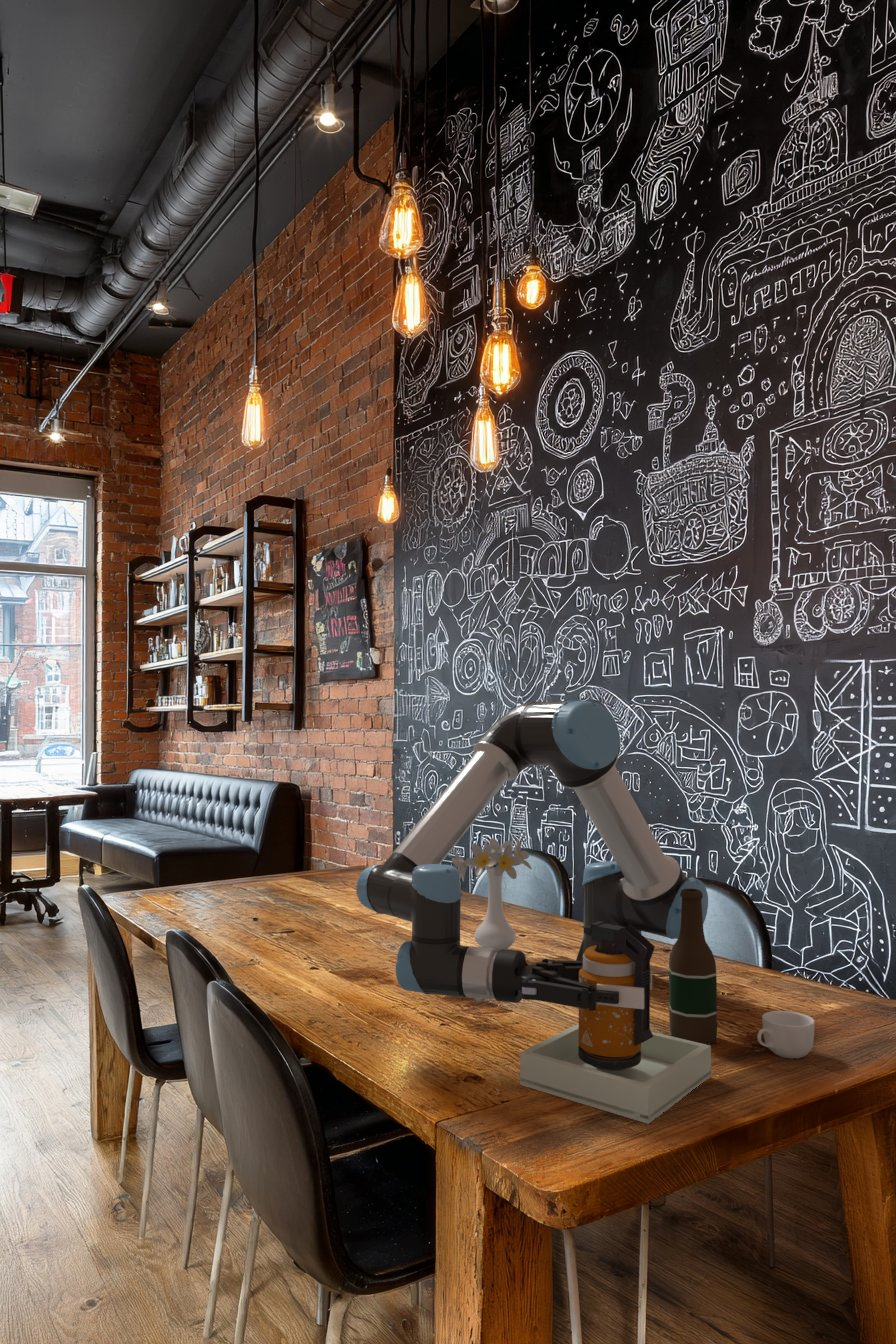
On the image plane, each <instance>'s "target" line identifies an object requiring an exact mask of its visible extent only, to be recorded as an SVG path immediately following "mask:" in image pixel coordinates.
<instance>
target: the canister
mask: <svg viewBox="0 0 896 1344" xmlns="http://www.w3.org/2000/svg"><path fill="white" fill-rule="evenodd" d="M584 932H585V933H586V934H588V935H589V934H592V940H594V941H599V943H597V945H596V946H591V947H589V948H587V949H586V950H585V952H584V954H583V968H581V969H580V970H579V982H581V983H585V984H589V985H593V986H595V989H597V983H598V984H607V985H618V986H629V987H639V988H644V1009H635V1008H625V1007H616V1006H606V1005H597V1002H595V1007H596V1010H595V1011H589V1008H587V1009H583V1008H578V1024H579V1033H578V1044H579V1046H578V1056H579V1058H580V1059H581V1060H582V1061H583V1062H585V1063H587V1064H589V1065H592V1066H593V1067H596V1068H598V1069H603V1070H610V1071H618V1070H624V1069H627V1068H631V1067H634V1066H636V1065H638V1064H639V1063H640V1062H641V1043H643V1042H645V1041H647V1040H648V1039H650V1038H652V1037H653V1035H652V1033H651V1032H652V1031H651V1029H650V1028H651V1027H650V1024H651V1019H650V1017H651V1016H650V1015H651V1014H650V1013H651V1010H650V1009H651V1006H650V1005H651V1002H650V1001H651V1000H650V999H651V994H650V993H651V990H650V982H651V981H650V980H651V978H650V977H651V975H650V974H651V972H650V971H651V959H652V957H653V955H654V954H653V953H654V951H655V948H656V947H655V945H654V944H653V943H652V942H650V940H648V939H647V938H646V937H645V936H644V935H643V934H642V933H641V934H640V933H639V932H638V931H637V930H636V929H635V928H634V927H633V926H632V925H631V924H630V925H629V926H627V927H622V926H617V925H611V924H606V923H604V922H602V921H598V922H595V923H592V924H591V925H590V926H587V927H584V926H583V933H584ZM633 936H634V937H635V938H636V939H637V940H636V939H635V938H634V937H633ZM643 945H644V946H643Z"/></svg>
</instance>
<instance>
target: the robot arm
mask: <svg viewBox="0 0 896 1344" xmlns="http://www.w3.org/2000/svg"><path fill="white" fill-rule="evenodd" d="M619 735H620V730H619V726H618V724H617V722H616V720H615V717H614V716H613V715H612V713H611V712H610V711H609V710H608V709H607V708H606V707H604V706H603V705H601V704H600V703H598V702H593V701H588V700H587V701H586V700H582V699H571V700H567V701H540V700H538V701H529V702H526V703H522V704H519V705H518V706H516V707H514V708H512V709H510V711H508V712H506V713H505V714H504V715H503V716H501V717H500V718H499V719H498V720H497V721H495V722H494V723H493V724H492V725H491V726H490V728H488V729H487V730H486V731H485V732H484V734H483V735H482V736H481V737H480V738H479V740H477V742H476V743H474V744H475V745H474V746H473V755H472V756H471V758H470V759H469V760H468V761H467V763H466V764H465V765H464V766H463V767H462V769H461V770H460V771H459V772H458V774H457V775H455V776H454V779H452V781H451V782H450V783H449V784H448V786H447V787H446V788H445V789H444V790H443V791H442V793H441V794H440V795H439V797H438V798H437V799H436V800H435V801H434V802H433V804H432V805H431V806H430V807H429V808H428V810H427V811H426V812H425V813H424V815H423V816H422V817H421V818H420V820H418V821H417V823H416V824H415V825H414V826H413V828H412V829H411V830H410V832H409V833H408V834H407V835H406V836H405V838H404V839H403V840H402V841H401V842H400V844H398V846H396V848H395V850H394V851H393V852H392V853H391V854H390V856H389V857H388V858H387V859H386V860H385V862H383V864H374V865H370V866H368V867H366V868H365V869H364V870H363V871H361V873H360V874H359V876H358V878H357V880H356V887H355V888H356V889H355V891H356V896H357V898H358V901H359V903H360V904H361V905H362V906H364V907H365V908H366V909H368V910H370V911H374V912H375V913H377V914H380V915H387V916H392V917H394V918H398V919H401V920H404V921H406V922H411V940H409V941H408V940H407V941H405V942H403V943H402V944H401V945H400V947H399V949H398V951H397V955H396V962H395V976H396V977H395V978H396V981H397V983H398V984H399V986H400V988H402V989H403V990H406V991H410V992H416V993H421V994H424V995H428V996H429V995H436V996H437V995H438V996H448V997H449V996H450V997H458V998H459V997H461V998H470V999H472V998H473V999H474V1000H475V1002H477V1003H481V1002H482V1000H487V1001H488V1000H489V1001H492V1000H493V999H495V1000H496V1001H497V1002H503V1003H504V1002H505V1003H512V1004H513V1003H515V1004H518V1003H520V1002H521V1001H522V1000H526V1001H527V1000H529V1001H539V1002H545V1003H551V1004H555V1005H562V1006H568V1007H574V1008H578V1009H579V1008H583V1009H587V1008H589V1011H595V1010H596V1007H595V1002H597V1005H606V1006H616V1007H625V1008H635V1009H644V988H639V987H629V986H618V985H607V984H598V983H597V989H595V986H593V985H589V984H585V983H581V982H579V970H580V969H581V968H583V954H584V952H585V950H586V949H587V948H589V947H591V946H596V945H597V943H599V941H594V940H592V934H589V935H588V934H586V933H585V932H584V931H583V936H582V940H581V943H580V946H579V949H578V953H577V955H576V956H577V957H576V958H575V960H560V959H559V960H557V959H556V960H555V959H550V958H549V959H548V958H543V959H541V961H537V962H535V963H534V964H533V963H532V964H529V963H528V962H527V961H526V955H525V953H524V952H523V951H521V950H519V949H518V950H517V949H509V950H508V949H501V950H499V951H497V950H496V949H495V948H487V947H481V946H473V945H472V946H471V945H463V944H461V911H462V910H461V907H462V905H461V902H462V901H461V900H462V895H463V894H462V889H461V879H460V873H459V871H458V869H459V868H458V867H456V866H455V865H451V864H442V862H443V861H444V860H445V859H446V858H447V856H448V855H449V853H450V852H451V851H453V850H454V848H455V846H456V845H457V844H458V843H459V841H460V840H461V839H462V837H463V836H464V835H465V834H466V833H467V831H468V830H469V828H470V827H471V826H472V825H473V823H474V822H475V821H476V819H477V818H478V817H479V816H480V815H481V813H482V812H483V811H484V809H485V808H486V807H487V806H488V805H489V803H490V802H491V801H492V800H493V798H494V797H495V796H496V795H497V794H498V792H499V791H500V789H501V788H502V787H503V785H505V783H506V782H511V781H514V780H515V779H516V778H517V777H518V776H519V774H520V773H521V772H522V771H523V770H525V769H527V768H529V767H533V766H544V767H545V766H546V767H550V768H551V770H552V771H553V773H554V775H555V776H556V779H557V780H558V782H559V784H561V785H562V787H564V788H567V789H571V790H574V792H575V794H576V796H577V797H578V799H579V801H580V802H581V804H582V806H583V808H584V810H585V811H586V813H587V814H588V817H589V818H590V820H591V822H592V823H593V825H594V827H595V828H596V830H597V832H598V834H599V835H600V837H601V839H602V840H603V842H604V844H605V846H606V847H607V850H608V851H609V852H610V854H611V856H612V858H613V860H608V861H599V862H591V863H589V864H587V865H586V866H585V867H584V870H583V879H582V880H583V881H582V915H583V917H582V918H583V920H582V921H583V928H584V927H587V926H590V925H591V924H592V923H595V922H598V921H602V922H604V923H606V924H611V925H617V926H622V927H627V926H629V925H630V924H631V925H632V926H633V927H634V928H635V929H636V930H637V931H638V932H639V933H640V934H642V932H644V933H649V934H652V935H657V936H661V937H664V938H668V939H671V940H674V939H675V940H678V938H679V934H680V926H681V906H682V897H681V896H680V893H681V890H683V889H698V890H700V891H701V892H702V895H703V898H702V899H701V904H702V917H703V925H704V924H705V921H706V918H707V915H708V908H709V894H708V891H707V888H706V885H705V884H704V883H703V881H701V880H700V879H698V878H696V877H693V876H691V877H688V876H686V874H685V873H684V871H683V869H682V868H681V865H680V863H679V862H678V861H677V860H676V859H675V858H674V857H672V856H670V855H667V854H664V852H663V850H662V848H661V847H660V845H659V842H658V841H657V839H656V837H655V835H654V834H653V832H652V830H651V828H650V826H649V825H648V823H647V821H646V819H645V818H644V816H643V814H642V812H641V810H640V808H639V806H638V805H637V803H636V802H635V800H634V798H633V796H632V794H631V793H630V790H629V789H628V786H627V785H626V783H625V781H624V780H623V777H622V776H621V775H620V772H619V770H618V769H617V767H616V765H617V764H618V763H617V762H618V759H619V753H618V752H619V750H620V749H619V748H620V745H621V744H620V743H621V741H620V739H618V737H619ZM633 937H634V936H633ZM634 938H635V937H634ZM635 939H636V938H635ZM636 940H637V939H636ZM643 946H644V945H643ZM644 947H645V946H644ZM650 972H651V974H650V975H651V977H650V978H651V980H650V981H651V982H650V991H652V990H653V970H651V971H650Z"/></svg>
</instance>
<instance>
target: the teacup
mask: <svg viewBox="0 0 896 1344" xmlns="http://www.w3.org/2000/svg"><path fill="white" fill-rule="evenodd" d="M761 1022H762V1028H761V1029H759V1030H758V1032H757V1037H756V1038H757V1042H758V1043H759V1044H760V1045H761V1046H763V1047H765V1048H768V1049H769V1050H770V1051H771V1052H773V1053H774V1054H775V1055H776V1056H779V1057H780V1058H785V1059H793V1058H796V1059H801V1057H802V1058H803V1057H805V1056H807V1055H808V1054H809V1053H811V1051H812V1049H813V1047H814V1042H815V1040H814V1039H815V1028H816V1027H815V1026H816V1025H815V1024H816V1023H815V1019H814V1018H813V1017H811V1016H810V1015H807V1014H804V1013H801V1012H796V1011H790V1010H775V1011H774V1010H772V1011H767V1012H765V1013H763V1014H762V1015H761ZM762 1034H763V1038H764V1042H763V1041H762Z"/></svg>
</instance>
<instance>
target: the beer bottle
mask: <svg viewBox="0 0 896 1344" xmlns="http://www.w3.org/2000/svg"><path fill="white" fill-rule="evenodd" d="M680 896H681V897H682V906H681V926H680V934H679V938H678V939H676V942H674V944H673V946H672V947H671V950H670V954H669V957H668V959H669V960H668V995H669V996H668V1006H669V1008H668V1009H669V1010H668V1011H669V1013H668V1014H669V1016H668V1018H669V1019H668V1020H669V1033H670V1036H672V1037H676V1038H681V1039H685V1040H689V1041H693V1042H698V1043H702V1044H708V1045H710V1044H713V1043H715V1041H717V1037H718V1000H717V999H718V997H717V996H718V994H717V993H718V992H717V991H718V990H717V989H718V988H717V987H718V985H717V982H718V981H717V980H718V979H717V964H716V959H715V956H714V953H713V952H712V949H711V948H710V946H709V945H708V943H707V941H706V938H705V937H706V936H705V932H704V924H703V917H702V904H701V899H702V898H703V895H702V892H701V891H700V890H698V889H683V890H681V893H680ZM712 1042H713V1043H712ZM709 1043H710V1044H709Z"/></svg>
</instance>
